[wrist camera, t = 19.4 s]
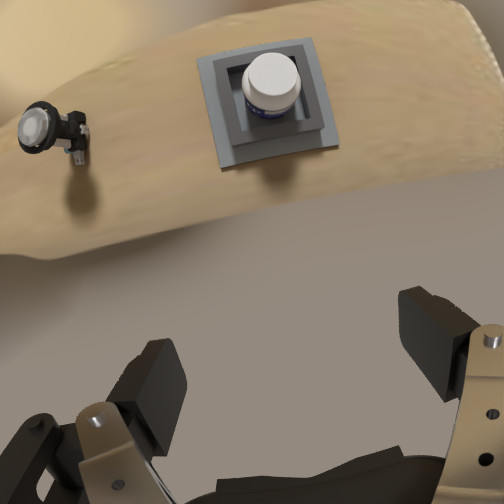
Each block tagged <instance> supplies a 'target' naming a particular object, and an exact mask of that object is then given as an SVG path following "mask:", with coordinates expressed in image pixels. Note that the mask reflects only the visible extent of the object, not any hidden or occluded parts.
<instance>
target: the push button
mask: <svg viewBox="0 0 504 504" xmlns="http://www.w3.org/2000/svg"><path fill="white" fill-rule="evenodd" d="M44 109H47V111H44ZM85 120H86V117H85V113H82V112H79V111H73V112H71V113H68V114H65V115H59V113H58V111H57V109H56V108H55V107H53V106H52V105H51V104H50V103H48V102H44V101H39V102H35V103H33V104H32V105H31V106H29V107H28V108H27V109H26V111H25V112H24V114H23V115H22V117H21V119H20V122H19V124H18V141H19V144H20V146H21V148H22V149H23V150H24V151H25V152H27V153H29V154H37V153H40V152H42V151H44V150H48V149H49V148H51V147H52V146H58V147H64V151H65V153H72V154H73V157H74V159H75V165H83V164H85V161H84V150H86V149H87V144H86V137H85V134H89V130H88V126H85V125H84V121H85ZM85 129H87V132H86V130H85ZM36 145H40V146H38V147H36ZM77 159H78V160H79V162H77V161H76V160H77ZM81 159H82V160H83V161H82V162H81Z"/></svg>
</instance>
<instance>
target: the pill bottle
mask: <svg viewBox="0 0 504 504" xmlns="http://www.w3.org/2000/svg"><path fill="white" fill-rule="evenodd" d="M242 89H243V94H244V99H245V104H246V106H247V108H248V109H249V111H250V112H251V113H252V114H253V115H255V116H256V117H258V118H261V119H264V120H276V119H279V118H282V117H283V116H285V115H286V114H287V113H288V112H289V111H290V110H291V108H292V106H293V105H294V103H295V101H296V99H297V98H298V95H299V93H300V89H301V80H300V76H299V73H298V71H297V68H296V66H295V64H294V63H293V62H292V60H291V59H289V58H288V57H286V56H285V55H282V54H279V53H265V54H262V55H260V56H258V57H257V58H256V59H254V61H253V62H252V63H251V64H250V65H249V66H248V67H247V69H246V70H245V72H244V74H243V78H242Z"/></svg>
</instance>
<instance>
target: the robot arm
mask: <svg viewBox="0 0 504 504" xmlns="http://www.w3.org/2000/svg"><path fill="white" fill-rule="evenodd" d="M398 306H399V334H400V339H401V342H402V345H403V347H404V348H405V350H406V351H407V352H408V354H409V355H410V356H411V358H412V359H413V360H414V361H415V363H416V364H417V365H418V367H419V368H420V370H421V371H422V372H423V374H424V375H425V376H426V378H427V379H428V380H429V382H430V383H431V385H432V386H433V387H434V388H435V390H436V391H437V393H438V394H439V396H440V397H441V399H442V400H443V401H444V402H448V401H450V400H452V399H455V398H458V399H459V400H460V402H459V406H458V411H457V415H456V419H455V424H454V428H453V432H452V435H451V439H450V443H449V446H448V450H447V453H446V456H445V458H442V457H436V456H427V455H426V456H425V455H413V456H403V453H402V451H401V449H400V447H399V445H398V446H395V447H392V448H389V449H385V450H382V451H379V452H376V453H372V454H369V455H365V456H361V457H358V458H355V459H353V460H351V461H348V462H346V463H344V464H342V465H340V466H337V467H335V468H333V469H331V470H328V471H326V472H324V473H321V474H319V475H316V476H313V477H309V478H292V477H272V476H254V477H244V478H231V479H217V484H216V492H212V493H209V494H205V495H203V496H200V497H197V498H195V499H193V500H191V501H189V502H187V503H185V504H504V326H502V325H496V324H488V325H483V326H481V325H480V324H478V323H477V322H476V321H475V320H473V319H472V318H471V317H470V316H468V315H467V314H466V313H464V312H462V310H461V309H459V308H458V307H455V305H454V304H453V303H451V302H450V301H449V300H447V299H445V298H442V297H439V296H436V295H434V296H432V295H431V294H430V293H428V292H427V291H426V290H425V289H423V288H422V287H421V286H417V287H413V288H410V289H406V290H402V291H400V292H399V295H398ZM186 391H187V380H186V375H185V373H184V370H183V368H182V365H181V362H180V360H179V357H178V354H177V352H176V349H175V346H174V344H173V342H172V340H171V339H169V338H167V339H159V340H152V341H149V342H148V343H147V345H146V347H145V348H144V350H143V351H142V353H141V355H138V356H137V357H136V358H135V359H134V360H132V361H131V362H130V363H129V364H128V365H127V367H126V368H125V370H124V372H123V374H122V375H121V376H120V378H119V381H117V383H116V384H115V386H114V388H113V389H112V391H111V393H110V394H109V396H108V397H107V399H106V401H105V402H98V403H94V404H92V405H90V406H88V407H86V408H85V409H83V410H82V411H81V412H80V413H79V414H78V416H77V418H76V421H75V423H71V424H66V425H60V426H59V425H58V424H57V422H56V421H55V419H54V418H53V416H52V415H50V414H48V413H41V414H37V415H34V416H33V417H30V418H29V419H27V420H26V421H25V422H24V423H23V424H22V426H21V427H20V428H19V430H18V431H17V433H16V434H15V435H14V437H13V438H12V440H11V441H10V442H9V444H8V445H7V447H6V448H5V450H4V451H3V452H2V454H1V455H0V504H178V502H177V501H176V499H175V498H174V497H173V495H172V494H171V492H170V491H169V489H168V488H167V486H166V485H165V483H164V482H163V480H162V479H161V477H160V476H159V474H158V473H157V471H156V470H155V468H154V466H153V465H152V463H151V460H152V457H153V456H167V454H168V451H169V447H170V444H171V441H172V437H173V434H174V431H175V427H176V424H177V420H178V417H179V414H180V411H181V407H182V404H183V401H184V397H185V394H186ZM45 468H46V470H47V471H48V472H49V473H50V474H51V475H52V477H53V478H54V482H53V484H52V486H51V488H50V490H49V492H48V494H47V496H46V498H45V500H44V502H42V501H41V500H40V498H39V497H38V495H37V491H36V486H37V483H38V481H39V479H40V477H41V475H42V473H43V471H44V470H45Z"/></svg>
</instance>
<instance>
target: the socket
mask: <svg viewBox="0 0 504 504" xmlns="http://www.w3.org/2000/svg"><path fill="white" fill-rule="evenodd" d="M265 53H279V54H282V55H285V56H286V57H288V58H289V59H291V60H292V62H293V63H294V64H295V66H296V68H297V71H298V73H299V76H300V80H301V89H300V93H299V95H298V98H297V99H296V101H295V103H294V105H293V106H292V108H291V110H290V111H289V112H288V113H287V114H286V115H285V116H283V117H282V118H279V119H276V120H264V119H261V118H258V117H256V116H255V115H253V114H252V113H251V112H250V111H249V109H248V108H247V106H246V104H245V99H244V94H243V89H242V78H243V74H244V72H245V70H246V69H247V67H248V66H249V65H250V64H251V63H252V62H253V61H254V59H256V58H257V57H258V56H260V55H262V54H265ZM197 64H198V68H199V73H200V77H201V82H202V87H203V91H204V96H205V100H206V105H207V109H208V114H209V118H210V123H211V127H212V132H213V136H214V140H215V145H216V149H217V154H218V158H219V162H220V167H221V168H223V167H228V166H232V165H236V164H241V163H245V162H250V161H254V160H259V159H264V158H269V157H273V156H278V155H284V154H289V153H294V152H299V151H305V150H310V149H316V148H322V147H328V146H334V145H339V144H340V143H339V138H338V134H337V130H336V125H335V121H334V117H333V113H332V109H331V105H330V101H329V97H328V93H327V89H326V86H325V82H324V78H323V75H322V71H321V68H320V64H319V61H318V57H317V54H316V51H315V47H314V44H313V41H312V38H311V37H310V38H301V39H293V40H286V41H279V42H272V43H266V44H260V45H255V46H249V47H244V48H239V49H235V50H230V51H226V52H221V53H217V54H213V55H209V56H205V57H201V58H197Z"/></svg>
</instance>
